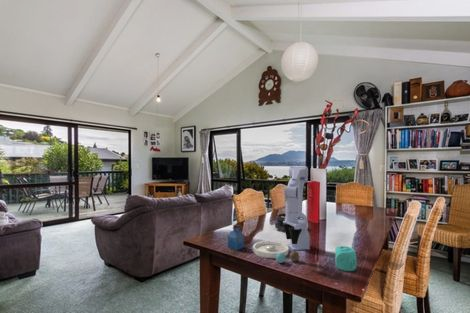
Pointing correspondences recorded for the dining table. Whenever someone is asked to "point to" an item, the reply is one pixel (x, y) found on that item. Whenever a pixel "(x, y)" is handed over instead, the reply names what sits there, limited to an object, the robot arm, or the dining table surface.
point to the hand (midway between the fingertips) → (291, 241)
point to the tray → (267, 254)
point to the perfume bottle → (236, 238)
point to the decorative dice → (345, 258)
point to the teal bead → (280, 257)
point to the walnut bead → (294, 256)
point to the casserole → (280, 221)
